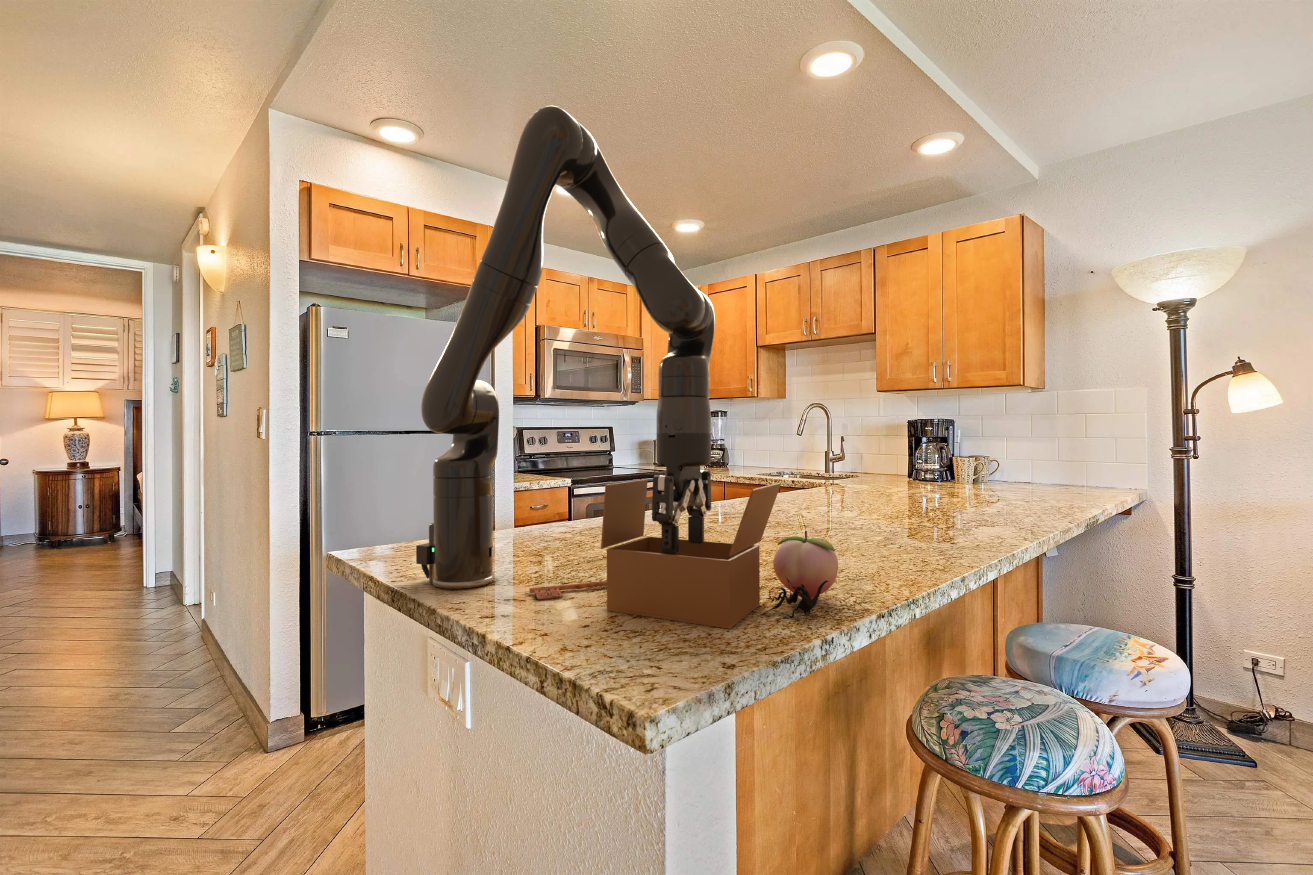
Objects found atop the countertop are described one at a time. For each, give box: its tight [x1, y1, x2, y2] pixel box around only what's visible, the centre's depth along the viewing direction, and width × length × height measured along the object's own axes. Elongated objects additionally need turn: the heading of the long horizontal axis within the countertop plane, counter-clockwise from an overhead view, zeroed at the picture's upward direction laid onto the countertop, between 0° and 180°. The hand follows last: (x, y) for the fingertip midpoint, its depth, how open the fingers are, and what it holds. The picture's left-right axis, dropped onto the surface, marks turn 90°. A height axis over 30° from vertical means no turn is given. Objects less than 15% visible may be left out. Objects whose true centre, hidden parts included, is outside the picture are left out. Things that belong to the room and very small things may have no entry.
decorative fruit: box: [772, 530, 839, 599], centre depth 89 cm, size 9×8×10 cm
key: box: [528, 579, 607, 600], centre depth 94 cm, size 6×1×15 cm
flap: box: [729, 482, 782, 556], centre depth 80 cm, size 9×12×1 cm
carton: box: [600, 478, 761, 630], centre depth 85 cm, size 19×12×17 cm, turn 63°
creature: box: [764, 577, 828, 619], centre depth 82 cm, size 8×5×8 cm
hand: (683, 547), depth 85 cm, fingers open, 8 cm apart
